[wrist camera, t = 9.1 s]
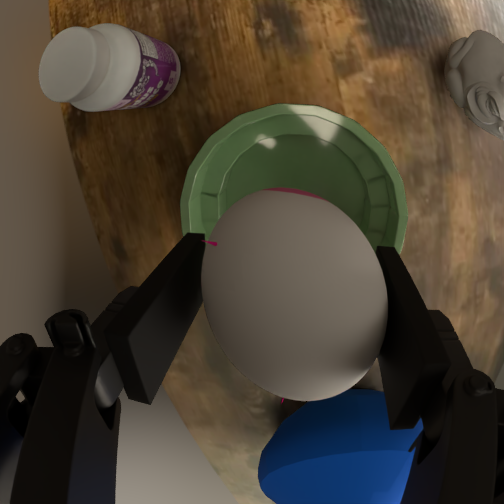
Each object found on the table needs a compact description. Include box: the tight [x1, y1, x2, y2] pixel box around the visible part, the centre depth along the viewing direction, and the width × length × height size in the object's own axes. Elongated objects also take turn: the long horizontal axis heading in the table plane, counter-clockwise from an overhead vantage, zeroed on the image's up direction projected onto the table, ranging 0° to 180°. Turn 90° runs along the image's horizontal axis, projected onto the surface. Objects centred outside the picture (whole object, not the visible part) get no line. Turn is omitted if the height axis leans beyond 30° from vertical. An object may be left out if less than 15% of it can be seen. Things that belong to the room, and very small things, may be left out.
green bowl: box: [180, 103, 408, 254], centre depth 20 cm, size 13×13×5 cm
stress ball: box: [201, 187, 388, 404], centre depth 11 cm, size 8×8×7 cm
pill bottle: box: [39, 23, 181, 112], centre depth 15 cm, size 5×5×10 cm
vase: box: [258, 389, 423, 504], centre depth 23 cm, size 18×18×19 cm
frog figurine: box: [444, 30, 504, 140], centre depth 13 cm, size 6×7×7 cm
